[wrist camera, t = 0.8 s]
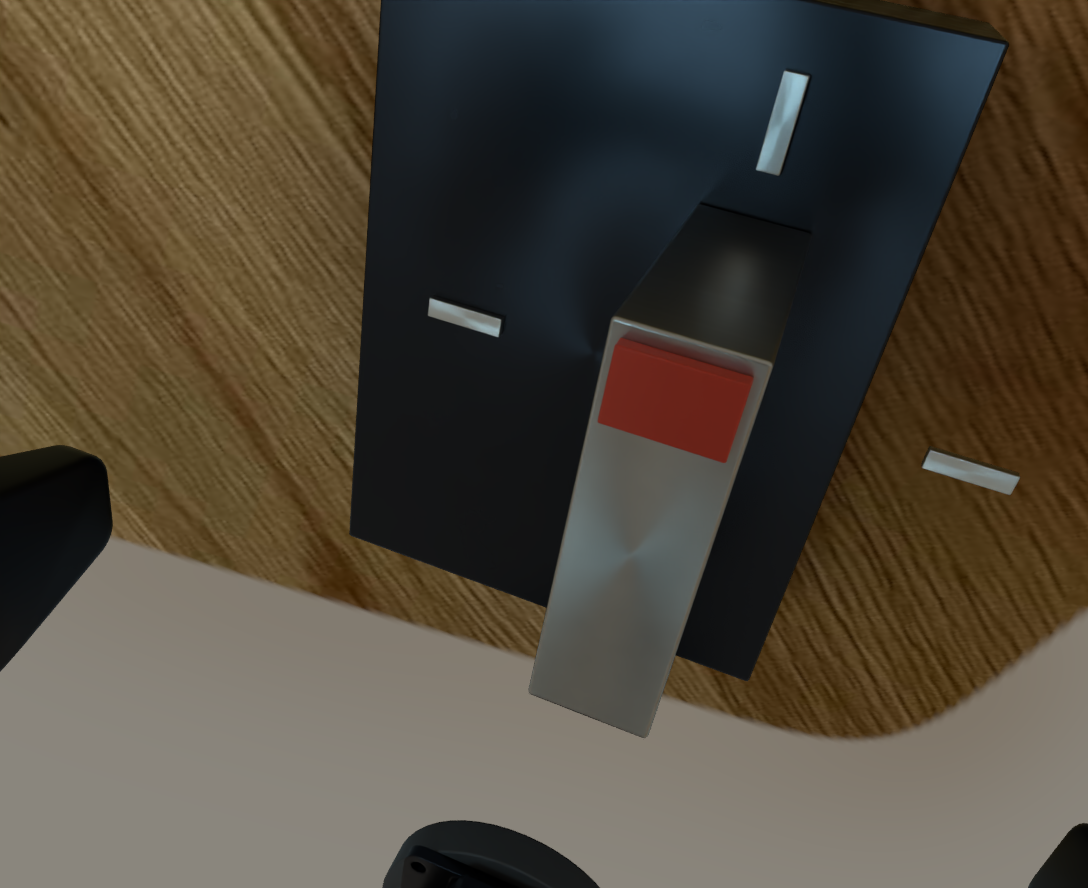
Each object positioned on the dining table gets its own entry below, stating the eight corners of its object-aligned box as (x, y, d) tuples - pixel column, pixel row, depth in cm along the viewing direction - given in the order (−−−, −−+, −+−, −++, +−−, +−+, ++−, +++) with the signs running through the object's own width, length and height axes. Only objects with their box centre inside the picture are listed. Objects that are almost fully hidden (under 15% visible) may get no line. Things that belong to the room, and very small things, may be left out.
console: (881, 632, 20) (878, 737, 17) (410, 469, 22) (344, 539, 20) (1170, 60, 14) (1233, 89, 11) (465, -87, 16) (380, -92, 13)
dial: (709, 542, 17) (642, 754, 12) (617, 511, 17) (520, 706, 13) (813, 232, 13) (770, 373, 9) (696, 202, 14) (604, 324, 10)
